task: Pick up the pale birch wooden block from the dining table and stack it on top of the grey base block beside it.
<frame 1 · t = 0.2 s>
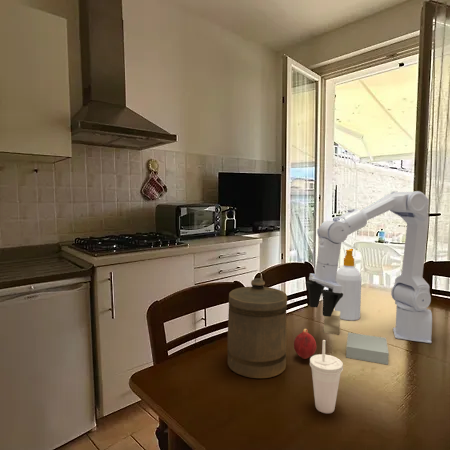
hand: (319, 311, 94), 10 cm above the table, tool pointing down, fingers open, 7 cm apart
smoothie: (324, 408, 68), on the table
wooden container: (256, 364, 86), on the table
block: (331, 331, 106), on the table
onion: (304, 359, 88), on the table
soap bottle: (347, 316, 120), on the table
base: (366, 352, 91), on the table
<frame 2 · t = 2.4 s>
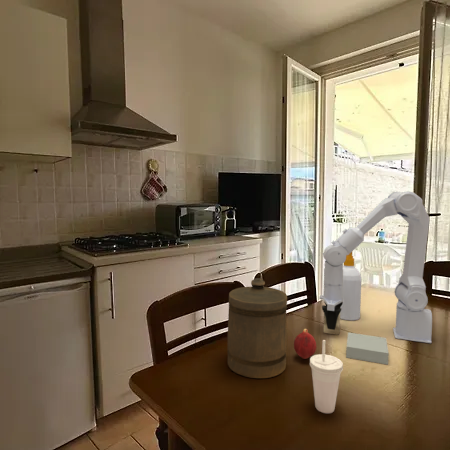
hand: (331, 325, 106), 2 cm above the table, tool pointing down, fingers closed on block, 4 cm apart
block: (331, 330, 106), on the table, touching gripper
everything else where it was.
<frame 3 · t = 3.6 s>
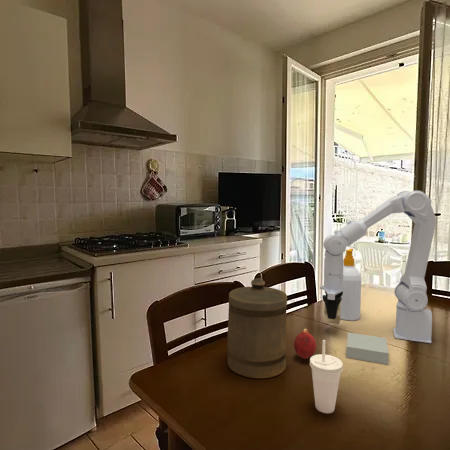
hand: (332, 315, 106), 5 cm above the table, tool pointing down, fingers closed on block, 4 cm apart
block: (332, 320, 106), point 3 cm above the table, touching gripper
everything else where it was.
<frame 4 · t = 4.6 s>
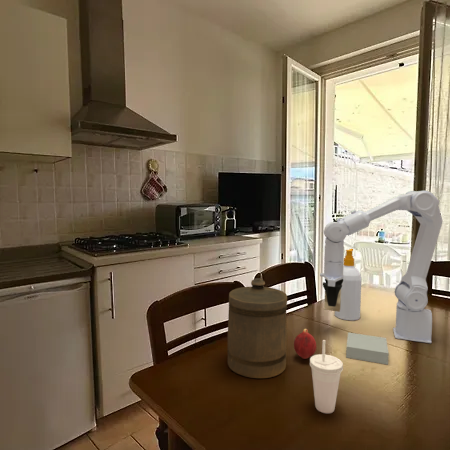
hand: (332, 303, 106), 9 cm above the table, tool pointing down, fingers closed on block, 4 cm apart
block: (332, 308, 106), point 7 cm above the table, touching gripper
everything else where it was.
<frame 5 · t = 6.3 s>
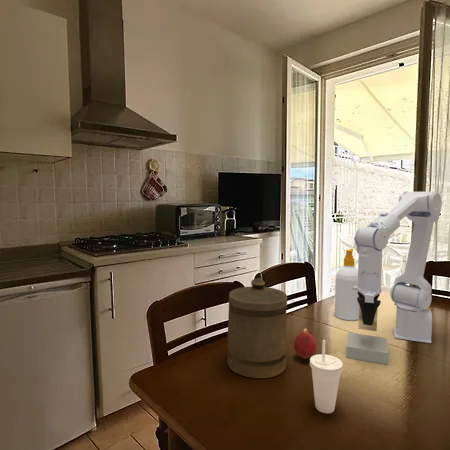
hand: (367, 321, 91), 9 cm above the table, tool pointing down, fingers closed on block, 4 cm apart
block: (367, 327, 91), point 7 cm above the table, touching gripper
everything else where it was.
when the fingers open (6 cm above the table, at t = 7.3 s): block drops 1 cm, resting on base.
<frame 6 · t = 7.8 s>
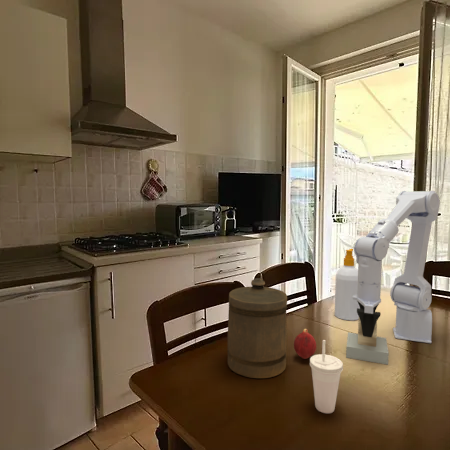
hand: (367, 331, 91), 6 cm above the table, tool pointing down, fingers open, 7 cm apart
block: (366, 342, 91), point 3 cm above the table, touching base
everything else where it was.
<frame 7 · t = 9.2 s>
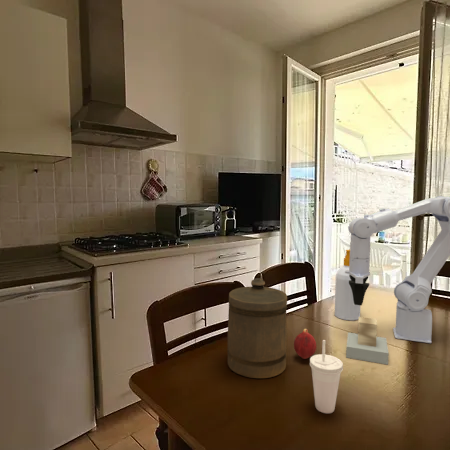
hand: (357, 301, 103), 10 cm above the table, tool pointing down, fingers open, 7 cm apart
nothing on the table moved.
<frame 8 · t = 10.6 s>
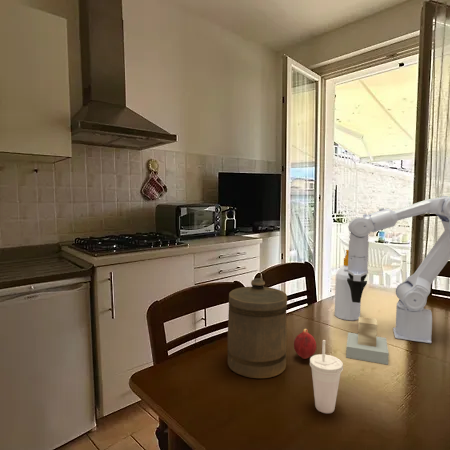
hand: (356, 298, 106), 10 cm above the table, tool pointing down, fingers open, 7 cm apart
nothing on the table moved.
at the end: block 0.0 cm off-centre on the base, point 3.0 cm above the base's base; block touching base; block tilted 0° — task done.
